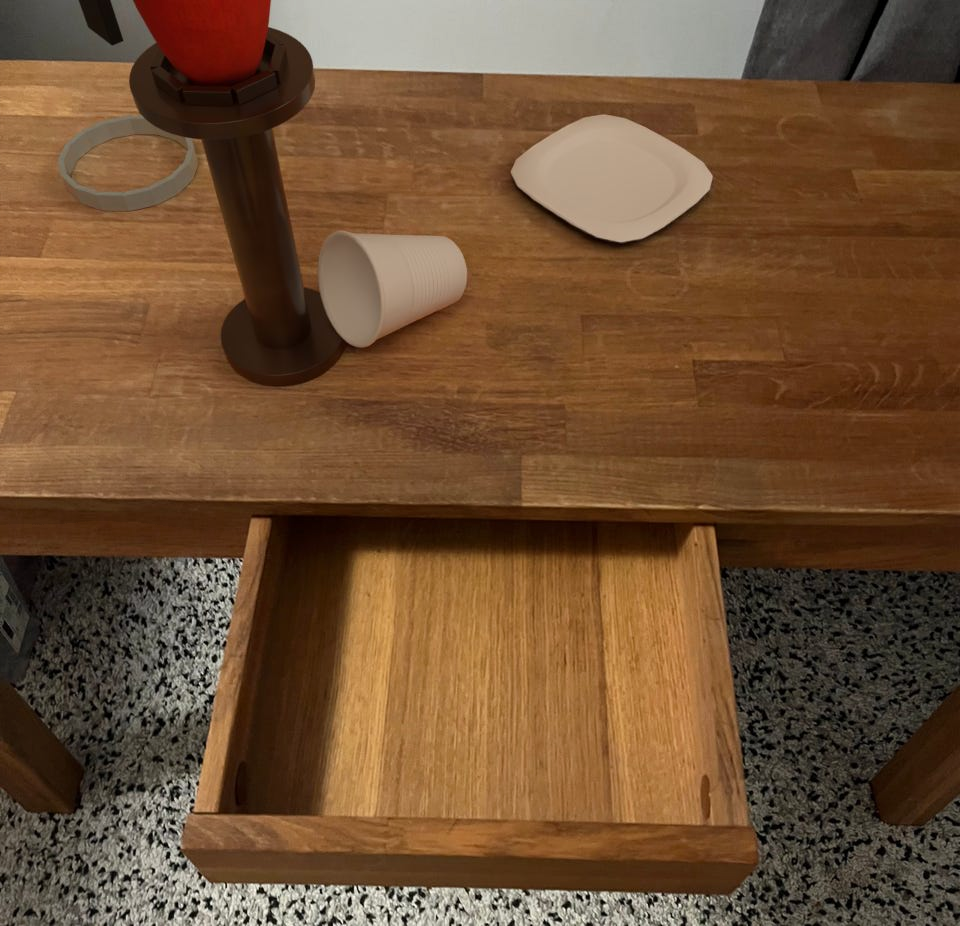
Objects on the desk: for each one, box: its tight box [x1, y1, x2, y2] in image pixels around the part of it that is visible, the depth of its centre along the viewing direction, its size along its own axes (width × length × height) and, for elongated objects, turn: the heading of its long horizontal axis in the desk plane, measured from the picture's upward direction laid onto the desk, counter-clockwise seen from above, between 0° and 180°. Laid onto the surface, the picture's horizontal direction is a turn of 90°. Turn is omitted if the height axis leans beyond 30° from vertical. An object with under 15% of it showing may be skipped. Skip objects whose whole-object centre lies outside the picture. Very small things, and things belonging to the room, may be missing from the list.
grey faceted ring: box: [57, 114, 199, 212], centre depth 92 cm, size 14×14×2 cm
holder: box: [128, 26, 347, 387], centre depth 68 cm, size 12×12×27 cm
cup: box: [317, 230, 468, 349], centre depth 77 cm, size 10×10×11 cm
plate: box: [510, 113, 714, 245], centre depth 92 cm, size 18×18×2 cm
